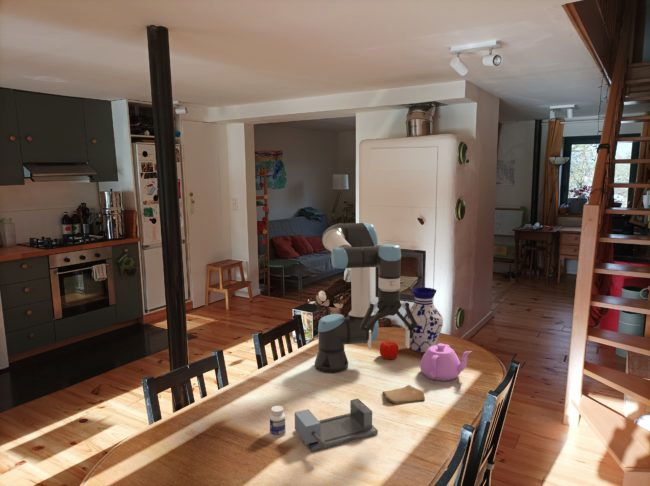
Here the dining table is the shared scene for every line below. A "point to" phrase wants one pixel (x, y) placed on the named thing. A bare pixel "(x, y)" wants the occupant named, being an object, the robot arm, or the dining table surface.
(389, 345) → the tomato
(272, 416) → the pill bottle
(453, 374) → the teapot
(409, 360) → the dining table surface
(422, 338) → the vase
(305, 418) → the block
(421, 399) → the stone
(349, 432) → the vise
